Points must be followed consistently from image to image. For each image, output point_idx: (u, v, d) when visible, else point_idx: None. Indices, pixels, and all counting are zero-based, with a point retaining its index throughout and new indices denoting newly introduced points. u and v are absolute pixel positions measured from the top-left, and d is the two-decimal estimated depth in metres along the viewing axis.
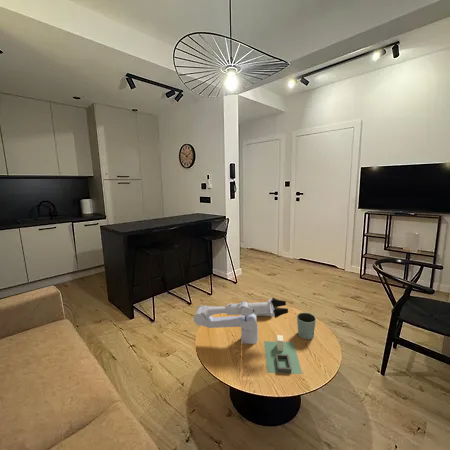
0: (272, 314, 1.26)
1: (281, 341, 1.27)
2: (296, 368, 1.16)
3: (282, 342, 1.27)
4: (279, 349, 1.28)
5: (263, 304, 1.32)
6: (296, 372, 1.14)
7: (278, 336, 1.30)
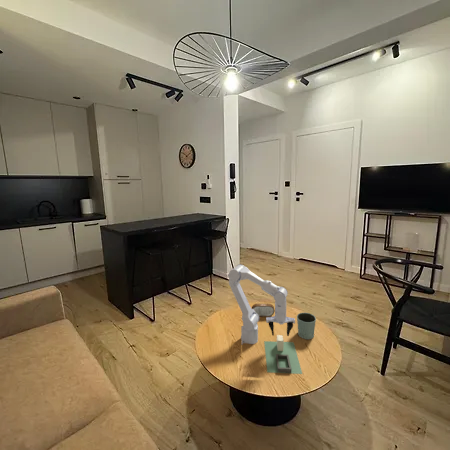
0: (266, 320, 1.28)
1: (281, 341, 1.27)
2: (296, 368, 1.16)
3: (282, 342, 1.27)
4: (279, 349, 1.28)
5: (279, 316, 1.24)
6: (296, 372, 1.14)
7: (278, 336, 1.30)
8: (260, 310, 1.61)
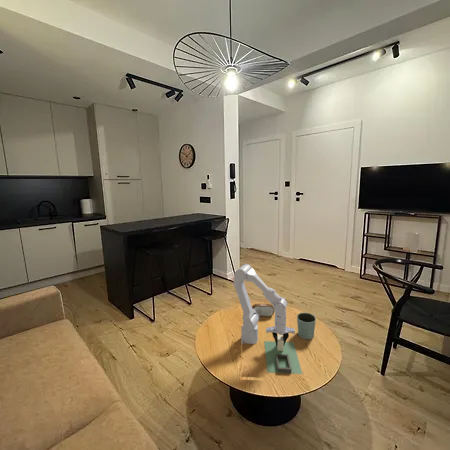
0: (266, 330, 1.29)
1: (281, 341, 1.27)
2: (296, 368, 1.16)
3: (282, 342, 1.27)
4: (279, 349, 1.28)
5: (279, 326, 1.25)
6: (296, 372, 1.14)
7: (278, 336, 1.30)
8: (260, 310, 1.61)
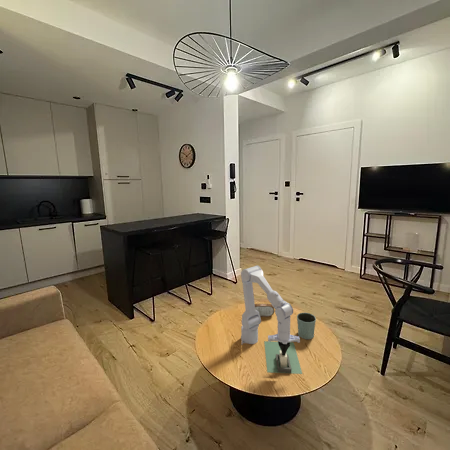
0: (268, 338, 1.16)
1: (284, 357, 1.16)
2: (296, 368, 1.16)
3: (286, 358, 1.16)
4: (282, 366, 1.17)
5: (282, 334, 1.13)
6: (296, 372, 1.14)
7: (281, 351, 1.19)
8: (260, 310, 1.61)
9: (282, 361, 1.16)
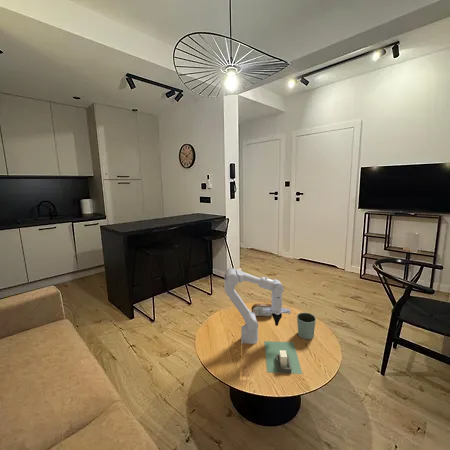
0: (263, 311, 1.35)
1: (284, 357, 1.16)
2: (296, 368, 1.16)
3: (286, 358, 1.16)
4: (282, 366, 1.17)
5: (275, 306, 1.32)
6: (296, 372, 1.14)
7: (281, 351, 1.19)
8: (260, 310, 1.61)
9: (282, 361, 1.16)
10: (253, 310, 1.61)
